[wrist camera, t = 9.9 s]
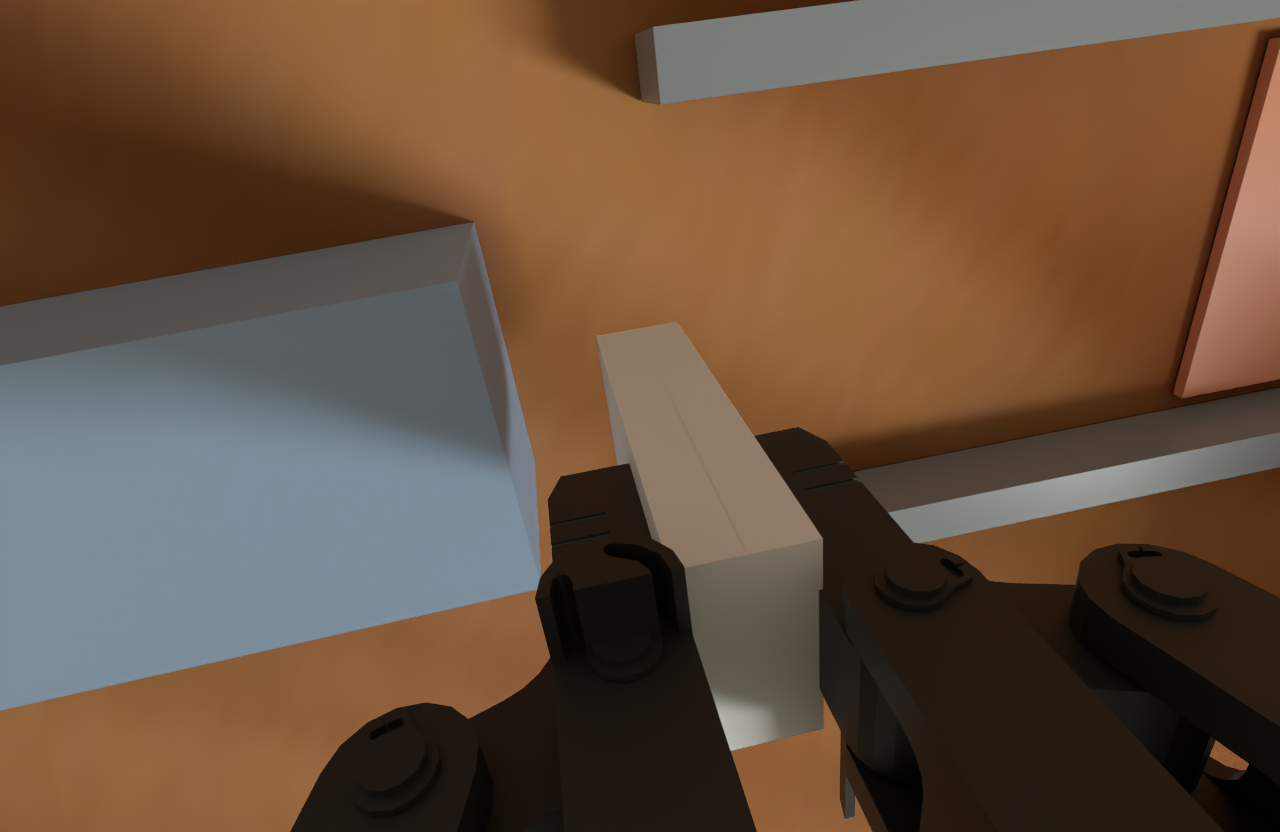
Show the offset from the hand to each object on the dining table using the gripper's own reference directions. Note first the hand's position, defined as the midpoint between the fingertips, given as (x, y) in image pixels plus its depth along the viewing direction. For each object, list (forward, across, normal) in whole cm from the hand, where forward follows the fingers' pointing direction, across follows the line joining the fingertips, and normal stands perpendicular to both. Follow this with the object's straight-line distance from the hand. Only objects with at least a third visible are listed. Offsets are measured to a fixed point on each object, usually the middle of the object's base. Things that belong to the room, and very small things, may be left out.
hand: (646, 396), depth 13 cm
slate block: (+4, -8, 0) cm, 9 cm away
